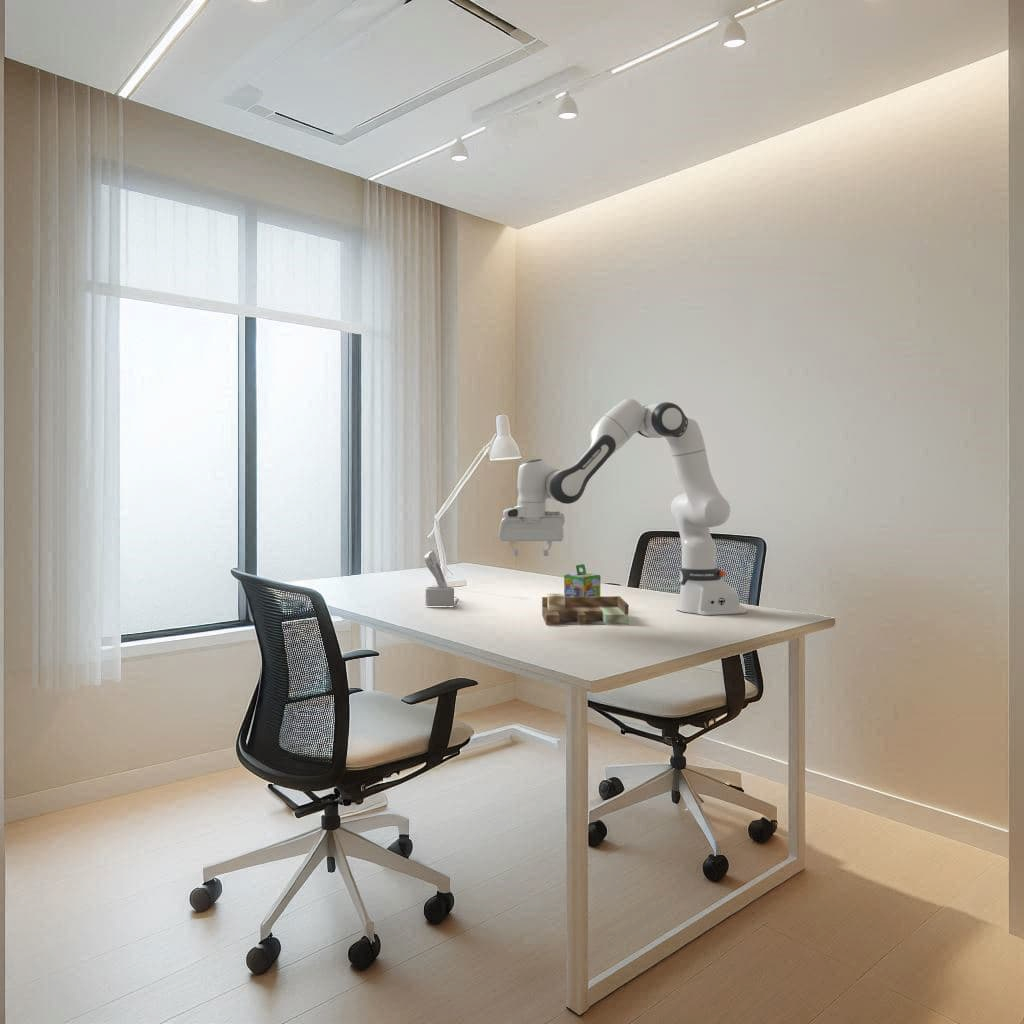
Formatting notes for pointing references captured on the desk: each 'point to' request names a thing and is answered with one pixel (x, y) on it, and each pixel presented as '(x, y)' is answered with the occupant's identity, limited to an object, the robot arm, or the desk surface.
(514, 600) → the desk surface
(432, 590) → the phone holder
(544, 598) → the track
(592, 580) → the chalk box
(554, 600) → the maple block
